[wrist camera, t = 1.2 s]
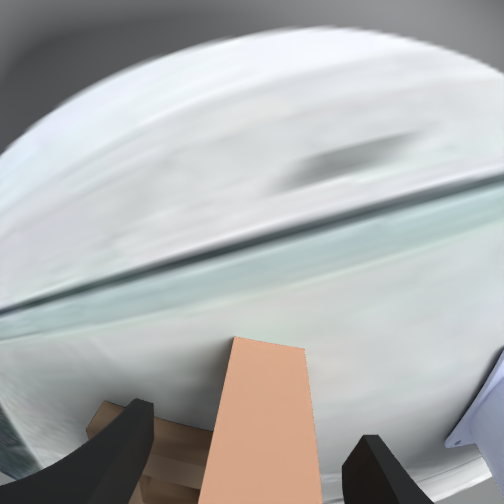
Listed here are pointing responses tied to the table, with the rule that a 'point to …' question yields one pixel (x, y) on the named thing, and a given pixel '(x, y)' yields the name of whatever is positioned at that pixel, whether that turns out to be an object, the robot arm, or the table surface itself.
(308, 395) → the peg
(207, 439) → the socket
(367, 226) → the table surface
